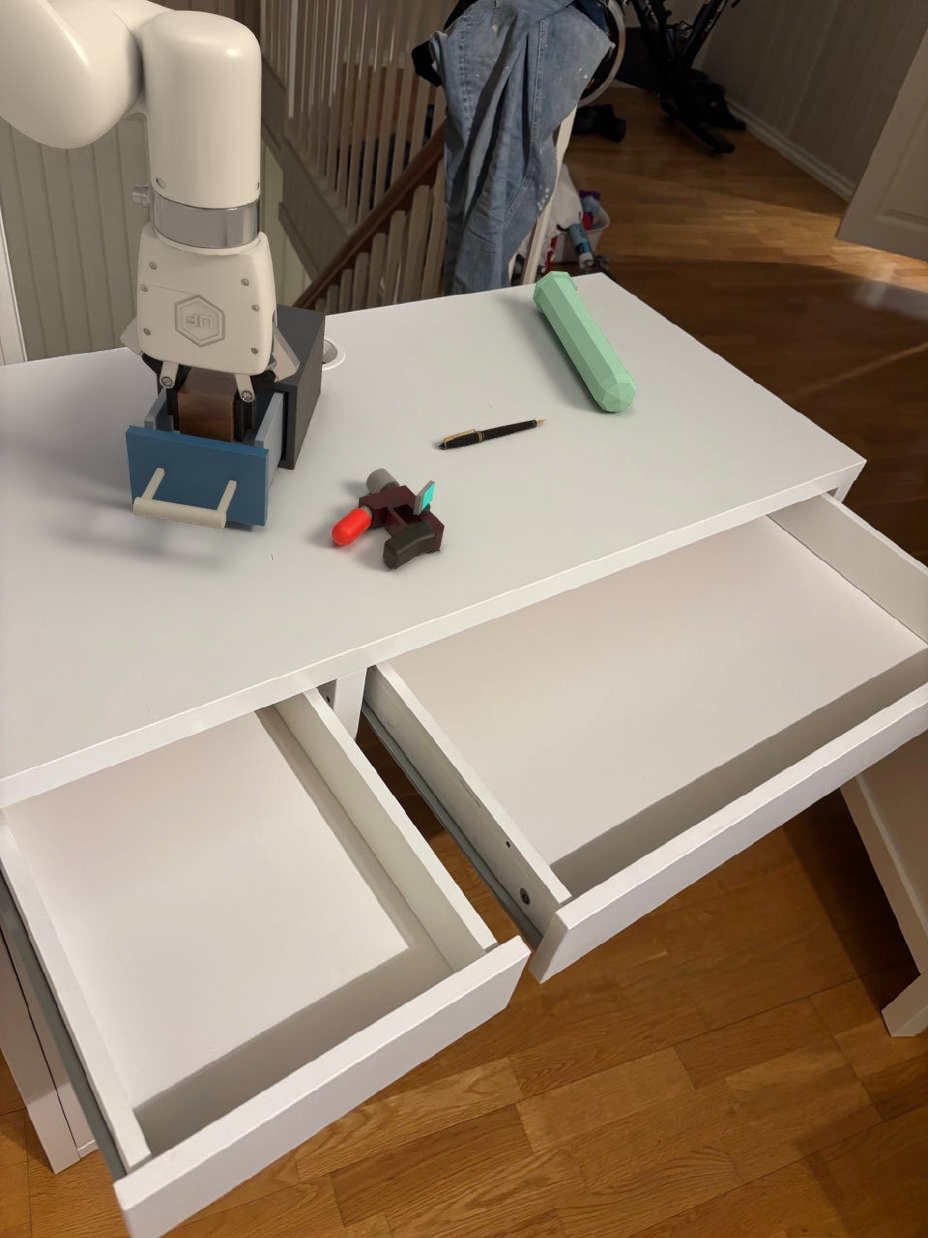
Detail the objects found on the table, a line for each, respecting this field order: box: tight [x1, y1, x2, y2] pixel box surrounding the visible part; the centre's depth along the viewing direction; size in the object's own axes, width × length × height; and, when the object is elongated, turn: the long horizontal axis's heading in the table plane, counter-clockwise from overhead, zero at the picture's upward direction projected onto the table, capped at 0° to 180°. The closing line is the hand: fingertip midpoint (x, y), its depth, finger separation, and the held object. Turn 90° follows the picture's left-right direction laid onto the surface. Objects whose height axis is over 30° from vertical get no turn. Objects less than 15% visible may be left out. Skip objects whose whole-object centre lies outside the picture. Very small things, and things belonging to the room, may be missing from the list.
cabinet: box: [155, 303, 327, 470], centre depth 92 cm, size 15×13×9 cm
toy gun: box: [330, 468, 445, 570], centre depth 84 cm, size 10×12×5 cm
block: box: [178, 367, 238, 443], centre depth 80 cm, size 4×4×4 cm
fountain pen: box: [438, 419, 546, 450], centre depth 100 cm, size 14×1×2 cm, turn 124°
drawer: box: [124, 387, 289, 530], centre depth 82 cm, size 19×11×7 cm, turn 176°
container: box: [532, 270, 638, 412], centre depth 113 cm, size 6×6×25 cm
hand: (212, 425), depth 81 cm, fingers closed on block, 4 cm apart
